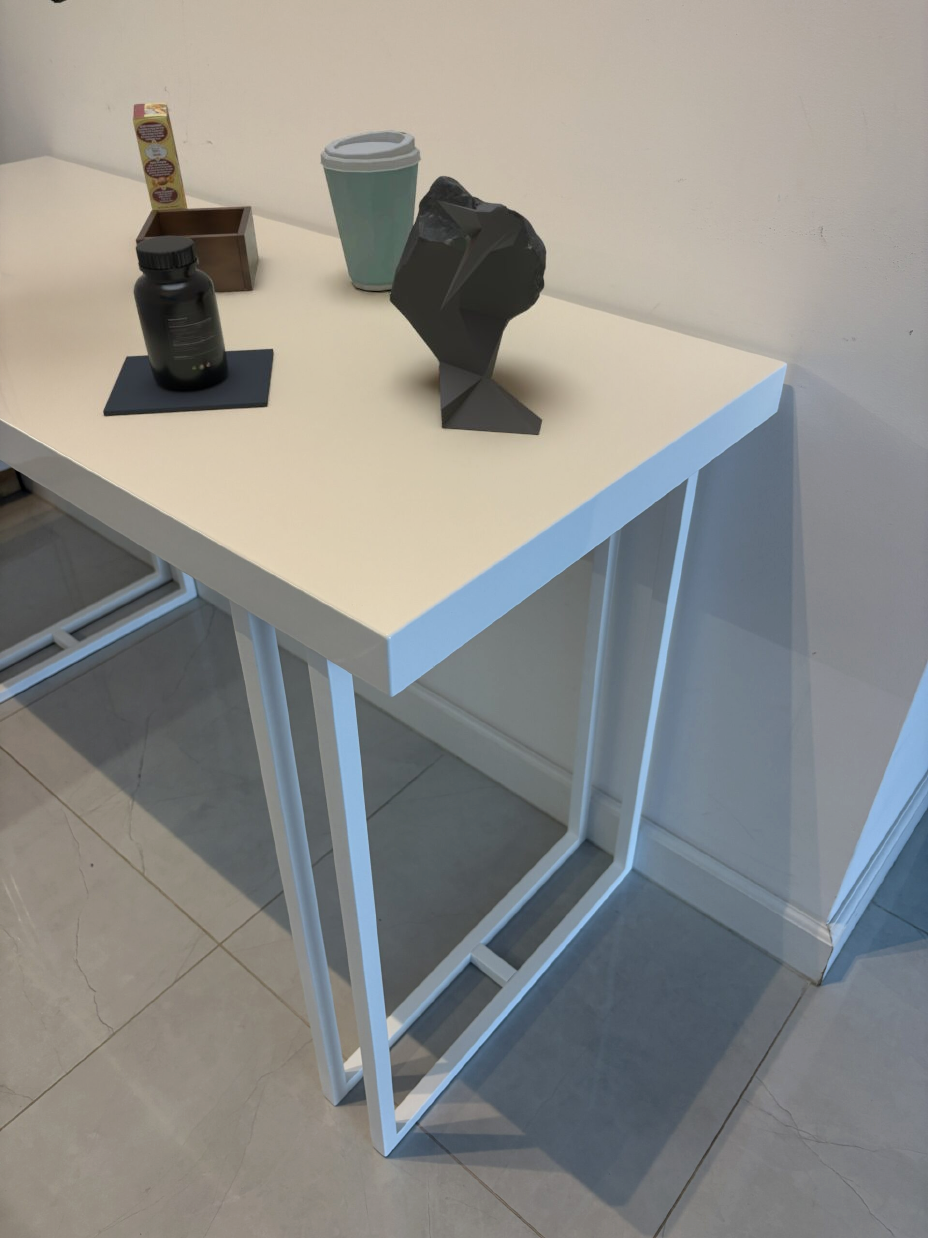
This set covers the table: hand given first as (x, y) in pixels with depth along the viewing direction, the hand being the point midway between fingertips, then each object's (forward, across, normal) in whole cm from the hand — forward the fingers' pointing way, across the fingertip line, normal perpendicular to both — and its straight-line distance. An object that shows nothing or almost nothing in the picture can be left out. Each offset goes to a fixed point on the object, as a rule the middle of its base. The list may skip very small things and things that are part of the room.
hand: (4, 1), depth 83 cm
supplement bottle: (+28, +14, -20) cm, 37 cm away
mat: (+28, +14, -20) cm, 37 cm away
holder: (+28, +12, +10) cm, 32 cm away
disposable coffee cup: (+28, +32, +5) cm, 43 cm away
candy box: (+28, +7, +23) cm, 37 cm away
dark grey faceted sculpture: (+28, +40, -25) cm, 54 cm away
